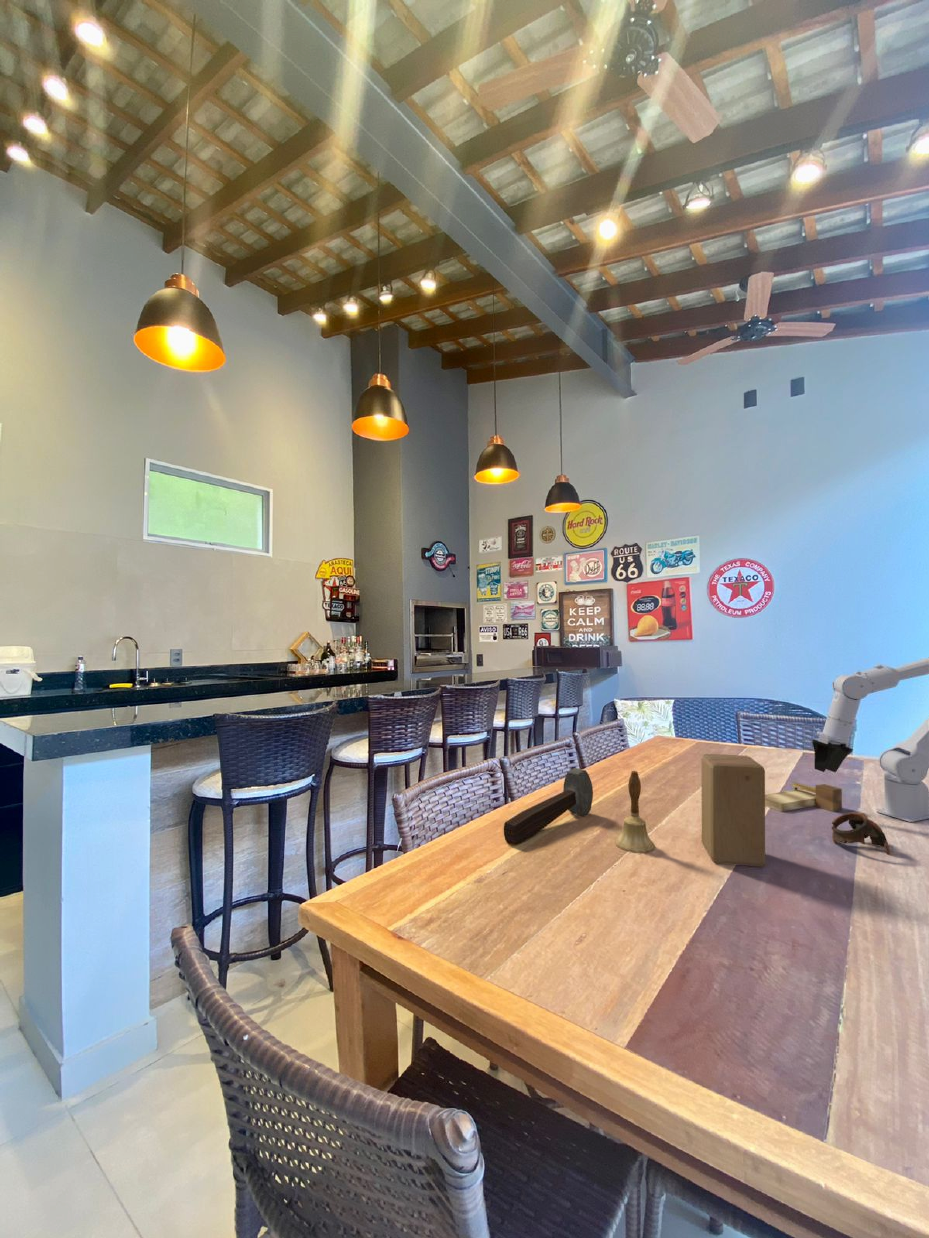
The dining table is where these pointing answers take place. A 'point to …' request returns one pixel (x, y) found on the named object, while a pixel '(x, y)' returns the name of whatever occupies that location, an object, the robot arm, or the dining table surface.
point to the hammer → (552, 808)
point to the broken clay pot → (858, 830)
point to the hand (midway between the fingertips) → (825, 770)
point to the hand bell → (634, 823)
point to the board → (790, 800)
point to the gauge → (824, 796)
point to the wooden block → (733, 809)
